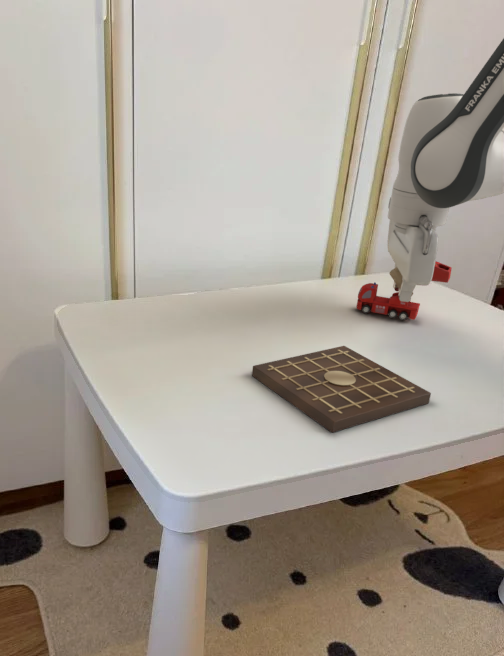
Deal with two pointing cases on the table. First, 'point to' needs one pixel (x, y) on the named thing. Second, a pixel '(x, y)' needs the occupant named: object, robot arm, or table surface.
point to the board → (340, 387)
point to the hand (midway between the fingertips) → (401, 295)
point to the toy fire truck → (396, 295)
